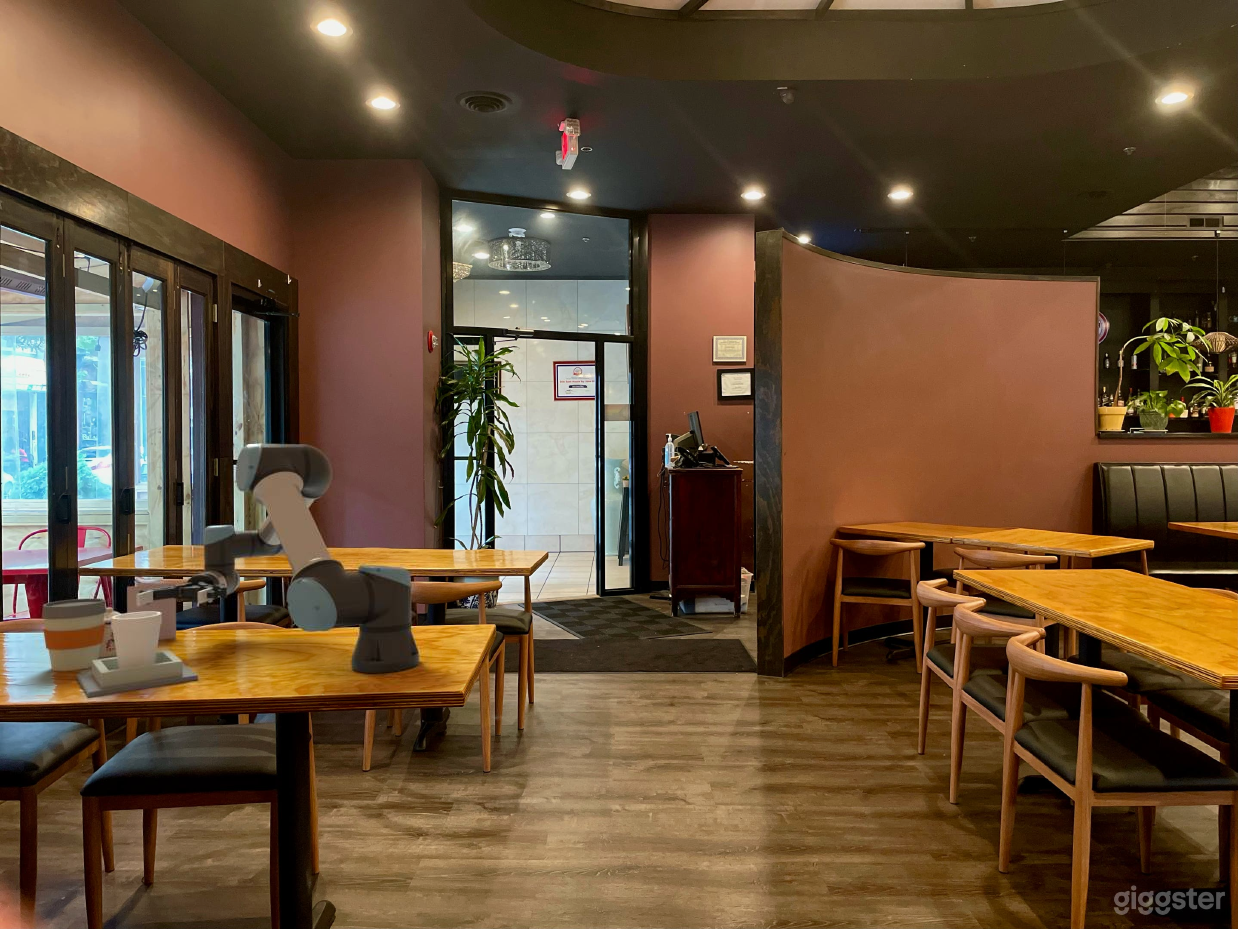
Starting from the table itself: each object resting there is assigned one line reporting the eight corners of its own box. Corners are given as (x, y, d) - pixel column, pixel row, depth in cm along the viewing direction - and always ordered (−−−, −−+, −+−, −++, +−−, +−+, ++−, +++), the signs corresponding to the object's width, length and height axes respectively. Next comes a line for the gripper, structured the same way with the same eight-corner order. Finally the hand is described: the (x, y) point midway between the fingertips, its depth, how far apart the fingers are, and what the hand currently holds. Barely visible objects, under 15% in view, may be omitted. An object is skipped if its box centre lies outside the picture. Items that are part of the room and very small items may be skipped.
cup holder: (198, 679, 172) (197, 661, 172) (88, 697, 159) (88, 677, 159) (178, 663, 188) (178, 646, 188) (76, 678, 175) (76, 660, 175)
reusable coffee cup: (101, 657, 195) (100, 596, 195) (111, 666, 186) (111, 602, 186) (38, 666, 186) (38, 602, 187) (46, 676, 177) (45, 609, 177)
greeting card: (178, 637, 218) (177, 583, 218) (159, 643, 211) (158, 587, 211) (140, 636, 220) (140, 582, 220) (120, 642, 212) (120, 586, 212)
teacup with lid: (109, 659, 193) (109, 611, 193) (77, 658, 194) (77, 610, 194) (147, 648, 205) (147, 603, 205) (116, 647, 206) (116, 602, 206)
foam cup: (138, 680, 168) (138, 619, 168) (101, 679, 170) (100, 618, 170) (171, 669, 178) (171, 611, 178) (135, 668, 179) (135, 611, 179)
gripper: (255, 599, 208) (224, 612, 187) (155, 603, 205) (112, 617, 184) (255, 571, 208) (224, 580, 187) (154, 574, 205) (112, 585, 184)
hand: (168, 598), depth 185 cm, fingers open, 13 cm apart
